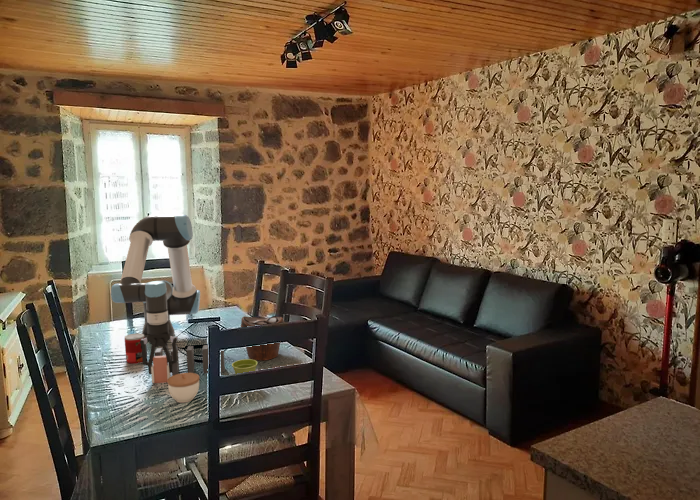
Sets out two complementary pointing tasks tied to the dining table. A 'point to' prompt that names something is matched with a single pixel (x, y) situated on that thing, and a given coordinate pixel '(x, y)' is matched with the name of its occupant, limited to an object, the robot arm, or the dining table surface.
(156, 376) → the domino
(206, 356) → the domino
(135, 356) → the canned food
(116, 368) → the dining table surface
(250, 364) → the plant pot
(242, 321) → the brown basket
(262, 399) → the dining table surface
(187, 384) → the lidded jar
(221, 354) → the domino
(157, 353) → the domino
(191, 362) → the domino
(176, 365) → the domino
